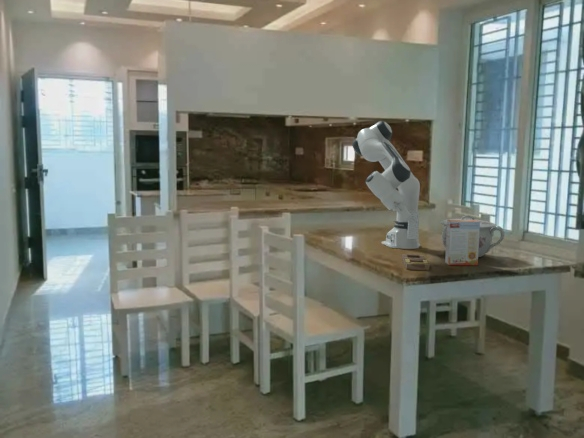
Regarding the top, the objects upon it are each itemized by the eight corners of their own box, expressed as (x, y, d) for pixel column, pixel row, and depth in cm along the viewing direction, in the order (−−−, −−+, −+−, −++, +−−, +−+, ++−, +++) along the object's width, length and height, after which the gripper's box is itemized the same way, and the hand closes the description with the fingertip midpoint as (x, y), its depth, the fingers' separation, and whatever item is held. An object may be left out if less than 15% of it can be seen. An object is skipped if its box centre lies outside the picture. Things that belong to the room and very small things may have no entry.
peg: (407, 237, 267) (408, 211, 266) (417, 237, 267) (418, 211, 265) (407, 238, 263) (409, 212, 261) (417, 239, 262) (419, 213, 261)
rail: (401, 258, 282) (401, 253, 282) (422, 259, 281) (422, 254, 281) (406, 269, 258) (406, 263, 258) (429, 270, 257) (429, 264, 257)
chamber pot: (427, 252, 301) (429, 212, 299) (470, 249, 311) (473, 211, 308) (460, 262, 275) (463, 219, 273) (507, 259, 285) (510, 218, 282)
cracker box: (473, 263, 275) (476, 219, 272) (477, 265, 269) (480, 221, 266) (444, 262, 275) (446, 219, 272) (448, 265, 269) (450, 220, 266)
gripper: (400, 198, 253) (421, 221, 253) (398, 194, 273) (418, 216, 273) (389, 208, 254) (411, 231, 254) (388, 203, 274) (408, 225, 274)
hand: (414, 223), depth 264 cm, fingers closed on peg, 4 cm apart
